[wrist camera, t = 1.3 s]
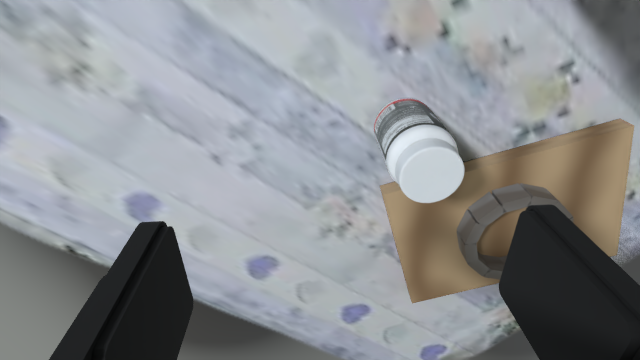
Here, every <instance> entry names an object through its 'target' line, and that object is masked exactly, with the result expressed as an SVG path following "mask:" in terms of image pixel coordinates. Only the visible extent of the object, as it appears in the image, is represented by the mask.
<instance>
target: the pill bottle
mask: <svg viewBox="0 0 640 360" xmlns="http://www.w3.org/2000/svg"><path fill="white" fill-rule="evenodd" d="M374 135H375V138H376V141H377V144H378V146H379V149H380V151H381V154H382V156H383V159H384V161H385V164H386V167H387V170H388V172H389V174H390V175H391V177H392V178H393V180H394V181H395V182H396V183H398V184H399V186H400V188H401V190H402V191H403V193H404V194H405V195H406V196H407V197H408V198H410V199H411V200H413V201H416V202H419V203H433V202H437V201H440V200H443V199H445V198H447V197H448V196H450V195H451V194H452V193H454V192H455V191H456V189H457V188H458V187H459V186H460V184H461V182H462V180H463V177H464V163H463V161H462V159H461V157H460V156H459V154H458V148H457V144H456V142H455V140H454V139H453V137H452V136H451V134H450V133H449V132H448V131H447V130H446V128H445V127H444V126H443V125H442V124H441V122H440V121H439V120H438V119H437V118H436V117H435V115H434V114H433V113H432V112H431V110H430V109H429V108H428V107H427V106H426V105H425V104H424V103H422V102H421V101H419V100H416V99H411V98H402V99H397V100H394V101H392V102H390V103H389V104H387V105H386V106H385V107H384V108H383V109H382V110H381V111H380V112H379V114H378V115H377V117H376V120H375V123H374Z"/></svg>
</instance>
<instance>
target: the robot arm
mask: <svg viewBox="0 0 640 360" xmlns="http://www.w3.org/2000/svg"><path fill="white" fill-rule="evenodd" d="M499 291H500V294H501V296H502V298H503V300H504V301H505V303H506V305H507V306H508V308H509V309H510V311H511V313H512V314H513V316H514V318H515V319H516V321H517V323H518V324H519V326H520V328H521V329H522V331H523V333H524V334H525V336H526V338H527V339H528V341H529V343H530V344H531V346H532V348H533V349H534V351H535V353H536V354H537V356H538V358H539V359H540V360H640V285H638V284H637V283H636V282H635V281H634V280H633V279H632V278H631V277H630V276H629V275H628V274H627V273H626V272H625V271H624V270H623V269H622V268H621V267H619V266H618V265H617V264H616V263H615V262H614V261H613V260H612V259H611V258H610V257H609V256H608V255H607V254H606V253H605V252H604V251H603V250H602V249H600V248H599V247H598V246H597V245H596V244H595V243H594V242H593V241H592V240H591V239H590V238H589V237H588V236H587V235H586V234H585V233H584V232H583V231H581V230H580V229H579V228H578V227H577V226H576V225H575V224H574V223H573V222H572V221H571V220H570V219H569V218H568V217H567V216H566V215H565V214H564V213H562V212H561V211H560V210H559V209H558V208H557V207H556V206H554V205H551V204H550V205H531V206H528V207H527V208H526V210H525V211H522V212H521V213H520V215H519V218H518V222H517V225H516V228H515V232H514V235H513V238H512V242H511V245H510V248H509V252H508V255H507V258H506V262H505V265H504V268H503V272H502V275H501V278H500V281H499ZM192 310H193V296H192V293H191V289H190V286H189V282H188V279H187V275H186V271H185V268H184V264H183V261H182V257H181V253H180V250H179V246H178V243H177V239H176V236H175V232H174V229H173V228H172V227H171V226H170V227H167V225H166V223H165V222H163V221H159V222H142V223H140V224H139V225H138V226H137V228H136V229H135V231H134V232H133V234H132V235H131V237H130V239H129V240H128V242H127V243H126V245H125V246H124V248H123V249H122V251H121V253H120V254H119V256H118V257H117V259H116V260H115V262H114V264H113V265H112V267H111V268H110V270H109V271H108V273H107V275H105V276H104V277H103V278H102V279H101V280H100V281H99V283H98V285H97V286H96V288H95V289H94V291H93V292H92V294H91V296H90V297H89V298H88V300H87V302H86V303H85V305H84V306H83V308H82V309H81V311H80V312H79V314H78V315H77V317H76V319H75V320H74V322H73V323H72V325H71V326H70V328H69V329H68V331H67V333H66V334H65V336H64V337H63V339H62V340H61V342H60V343H59V345H58V347H57V348H56V350H55V351H54V353H53V354H52V356H51V357H50V359H49V360H177V357H178V354H179V350H180V347H181V344H182V341H183V338H184V335H185V332H186V329H187V326H188V323H189V320H190V316H191V313H192Z"/></svg>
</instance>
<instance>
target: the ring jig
mask: <svg viewBox="0 0 640 360" xmlns="http://www.w3.org/2000/svg"><path fill="white" fill-rule="evenodd" d="M633 131H634V125H632V124H630V123H628V122H626V121H624V120H622V119H617V120H613V121H610V122H606V123H603V124H599V125H596V126H592V127H588V128H585V129H581V130H578V131H574V132H570V133H567V134H563V135H560V136H556V137H553V138H549V139H545V140H542V141H538V142H535V143H531V144H528V145H524V146H520V147H517V148H513V149H510V150H506V151H503V152H499V153H495V154H492V155H488V156H485V157H481V158H478V159H474V160H470V161H467V162H463V163H464V177H463V180H462V182H461V184H460V186H459V187H458V188H457V189H456V191H455V192H454V193H452V194H451V195H450V196H448V197H447V198H445V199H443V200H440V201H437V202H433V203H419V202H416V201H413V200H411V199H410V198H408V197H407V196H406V195H405V194H404V193H403V191H402V190H401V188H400V186H399V184H398V183H396V182H392V183H388V184H385V185H381V186H380V189H381V192H382V196H383V200H384V203H385V207H386V211H387V214H388V218H389V222H390V225H391V229H392V233H393V236H394V240H395V244H396V247H397V251H398V255H399V258H400V262H401V266H402V269H403V273H404V277H405V280H406V284H407V288H408V291H409V295H410V298H411V301H412V303H416V302H420V301H424V300H428V299H433V298H437V297H441V296H445V295H450V294H454V293H458V292H462V291H466V290H471V289H475V288H479V287H483V286H488V285H492V284H496V283H499V281H500V278H501V275H502V272H503V268H504V265H505V262H506V258H507V255H508V252H509V248H510V245H511V242H512V238H513V235H514V232H515V228H516V225H517V222H518V218H519V215H520V213H521V212H522V211H525V210H526V208H527V207H528V206H531V205H550V204H551V205H554V206H556V207H557V208H558V209H559V210H560V211H561V212H562V213H564V214H565V215H566V216H567V217H568V218H569V219H570V220H571V221H572V222H573V223H574V224H575V225H576V226H577V227H578V228H579V229H580V230H581V231H583V232H584V233H585V234H586V235H587V236H588V237H589V238H590V239H591V240H592V241H593V242H594V243H595V244H596V245H597V246H598V247H599V248H600V249H602V250H603V251H604V252H605V253H606V254H607V255H608V256H609V257H611V256H615V255H617V251H618V243H619V236H620V228H621V221H622V213H623V206H624V198H625V191H626V183H627V176H628V168H629V161H630V153H631V146H632V138H633Z"/></svg>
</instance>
